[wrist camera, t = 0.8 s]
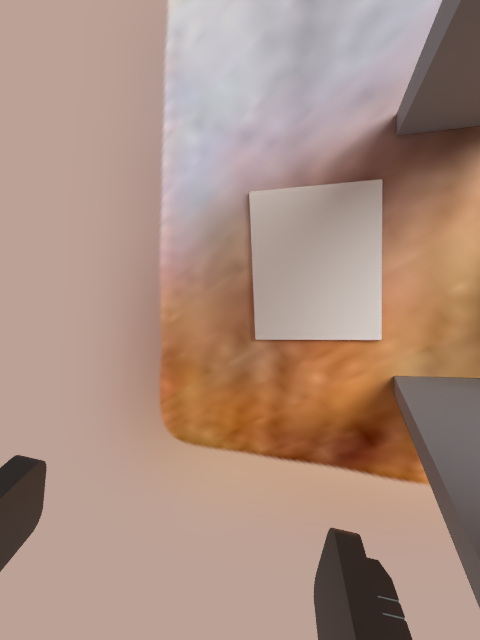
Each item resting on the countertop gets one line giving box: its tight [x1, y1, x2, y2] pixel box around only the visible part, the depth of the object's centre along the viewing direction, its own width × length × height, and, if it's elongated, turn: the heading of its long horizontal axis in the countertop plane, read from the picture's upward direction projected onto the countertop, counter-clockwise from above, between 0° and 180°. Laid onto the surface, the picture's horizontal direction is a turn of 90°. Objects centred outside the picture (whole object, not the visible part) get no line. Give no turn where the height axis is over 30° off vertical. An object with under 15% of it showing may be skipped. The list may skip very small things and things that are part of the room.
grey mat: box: [249, 179, 382, 340], centre depth 31 cm, size 12×10×1 cm
